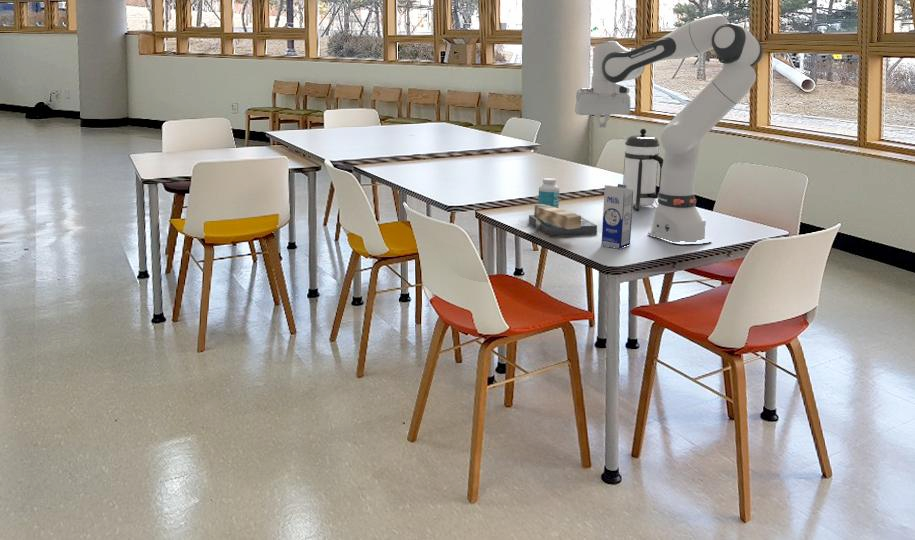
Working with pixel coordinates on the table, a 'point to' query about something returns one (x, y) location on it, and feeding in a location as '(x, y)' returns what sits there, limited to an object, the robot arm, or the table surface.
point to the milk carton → (617, 216)
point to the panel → (556, 230)
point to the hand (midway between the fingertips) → (601, 127)
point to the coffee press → (642, 168)
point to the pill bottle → (549, 193)
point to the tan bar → (557, 216)
